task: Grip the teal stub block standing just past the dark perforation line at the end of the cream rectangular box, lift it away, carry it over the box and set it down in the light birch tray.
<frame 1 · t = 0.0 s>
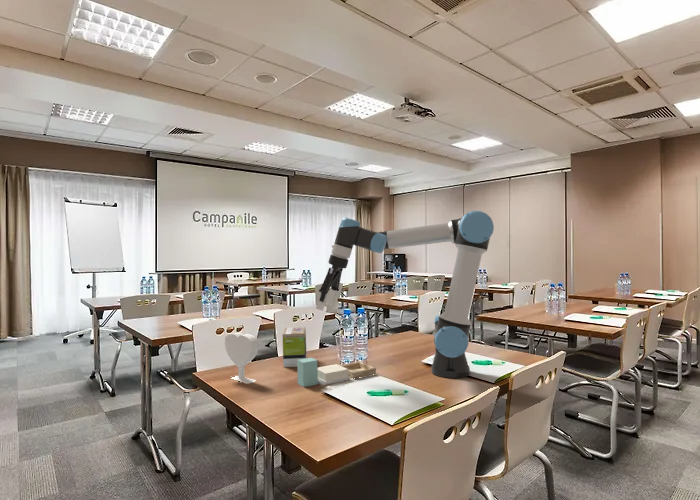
hand: (324, 307, 161), 28 cm above the table, tool tilted 20°, fingers open, 13 cm apart
stub: (307, 383, 152), on the table
stub tray: (357, 373, 164), on the table
cream rectangular box: (325, 380, 156), on the table
heart sculpture: (241, 380, 159), on the table
tea box: (295, 362, 183), on the table
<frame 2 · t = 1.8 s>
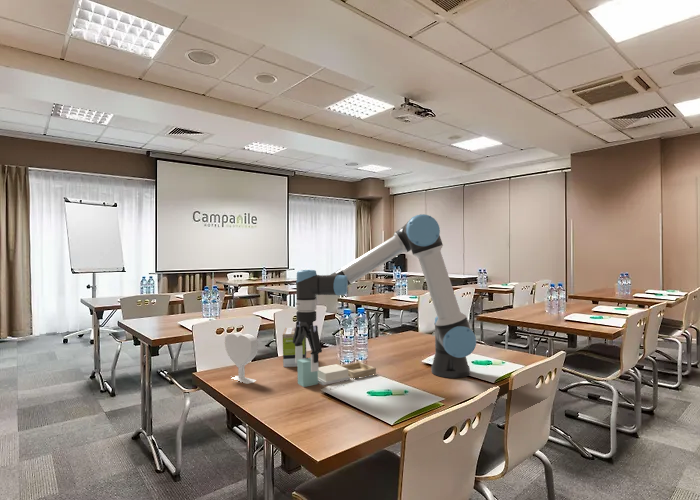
hand: (306, 366, 152), 6 cm above the table, tool pointing down, fingers open, 13 cm apart
nothing on the table moved.
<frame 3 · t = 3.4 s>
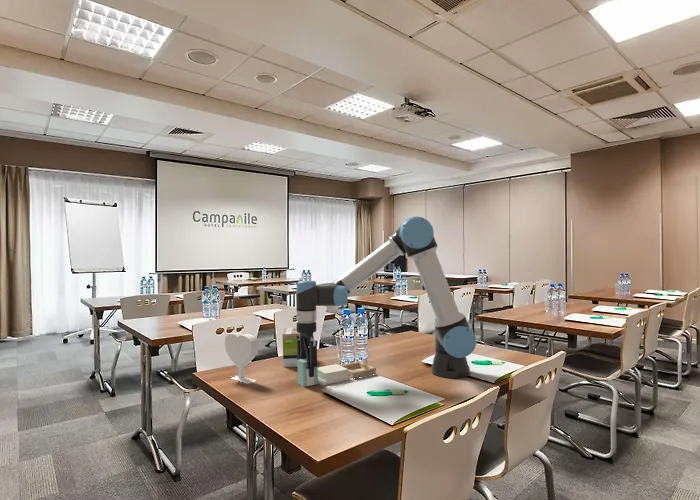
hand: (307, 383, 152), 0 cm above the table, tool pointing down, fingers closed on stub, 5 cm apart
stub: (307, 383, 152), on the table, touching gripper
everything else where it was.
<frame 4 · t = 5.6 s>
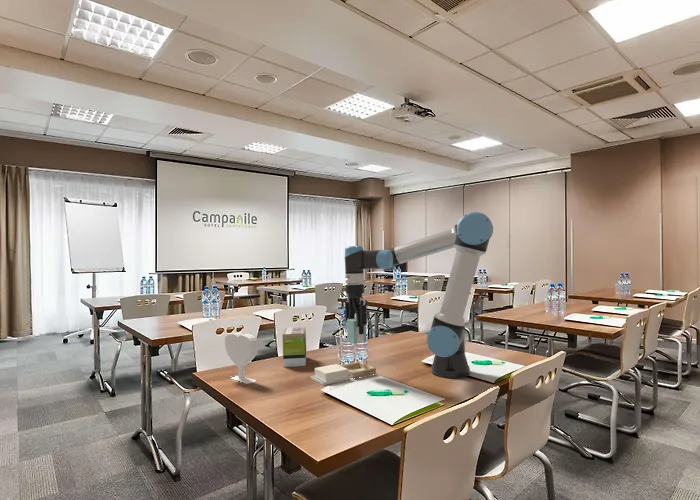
hand: (356, 340, 164), 13 cm above the table, tool pointing down, fingers closed on stub, 5 cm apart
stub: (357, 341, 164), point 13 cm above the table, touching gripper
everything else where it was.
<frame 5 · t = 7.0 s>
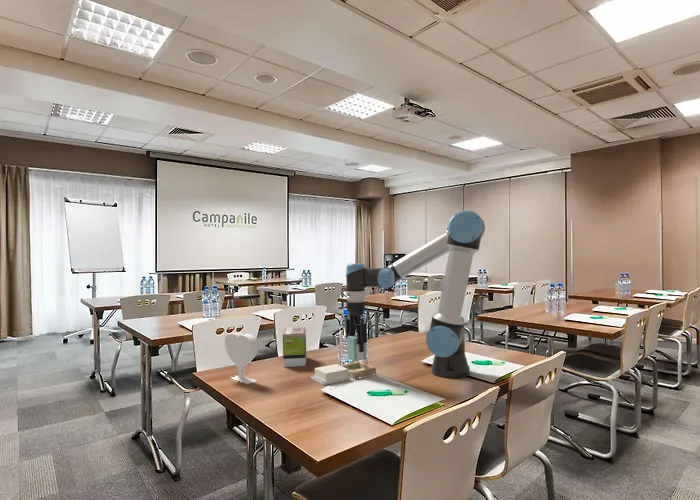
hand: (356, 358, 164), 6 cm above the table, tool pointing down, fingers closed on stub, 5 cm apart
stub: (356, 358, 164), point 6 cm above the table, touching gripper
everything else where it was.
when the fingers open (3 cm above the table, at t = 7.9 s): stub drops 2 cm, resting on stub tray.
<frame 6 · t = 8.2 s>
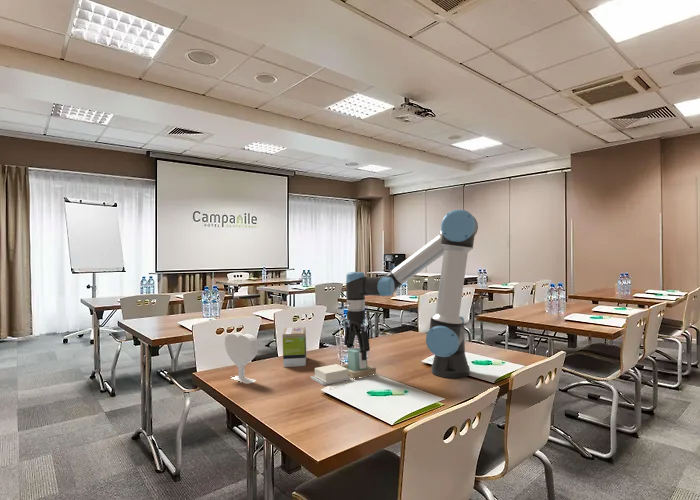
hand: (356, 365, 164), 3 cm above the table, tool pointing down, fingers open, 8 cm apart
stub: (357, 371, 164), point 1 cm above the table, touching stub tray
everything else where it was.
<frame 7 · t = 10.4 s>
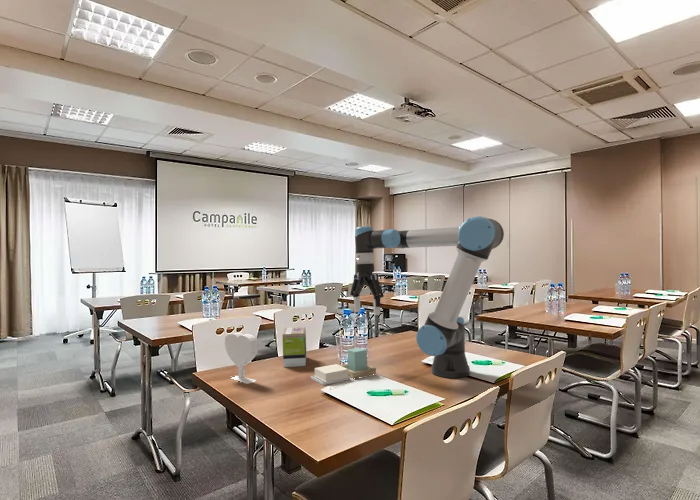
hand: (367, 313, 170), 24 cm above the table, tool pointing down, fingers open, 13 cm apart
nothing on the table moved.
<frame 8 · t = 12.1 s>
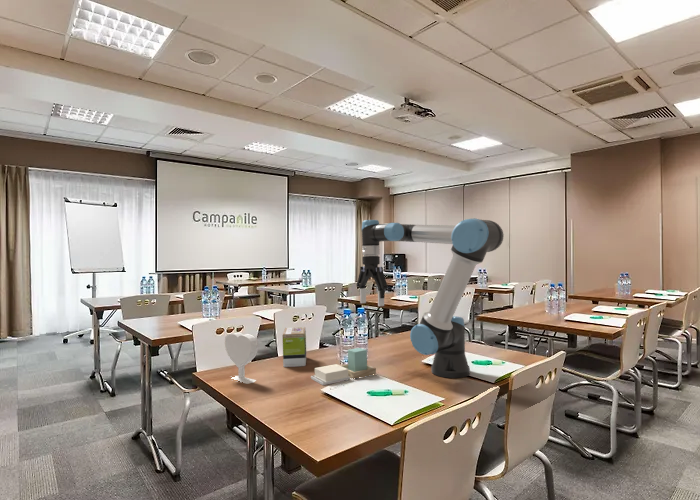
hand: (371, 304, 175), 27 cm above the table, tool pointing down, fingers open, 13 cm apart
nothing on the table moved.
at the end: stub inside the target area on the stub tray (0.3 cm from its centre), point 0.6 cm above the stub tray's base; stub tilted 0°; the gripper is holding nothing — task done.
